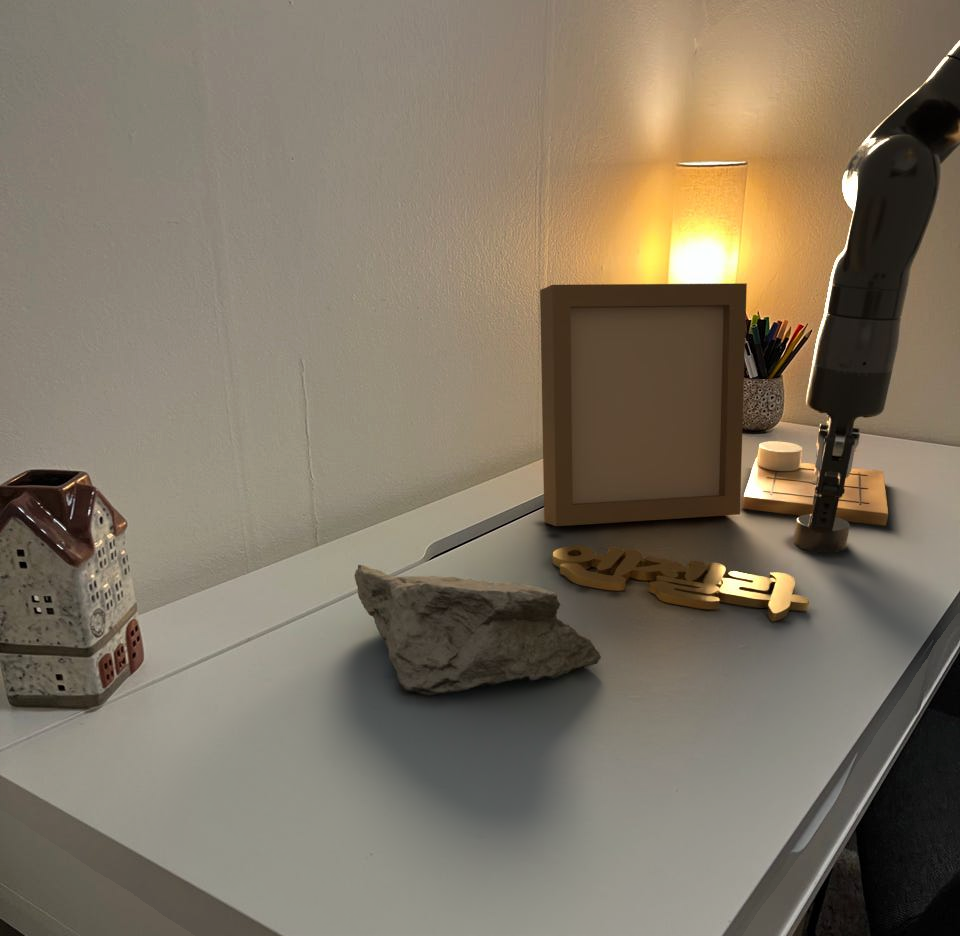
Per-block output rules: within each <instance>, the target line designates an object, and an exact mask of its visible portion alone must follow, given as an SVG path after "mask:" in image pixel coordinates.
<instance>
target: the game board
mask: <svg viewBox="0 0 960 936" xmlns="http://www.w3.org/2000/svg"><path fill="white" fill-rule="evenodd" d="M815 464H816V463H806V462H800V467H799V469H797V470H794V471H774V470H769V469H765V468H762V467H760V466H758V465H757V457H756V458H755V460H754V463H753V465H752V469H751V471H750V476H749V479H748V481H747V484H746V488H745V491H744V494H743V498H742V503H741V509H743V510H749V511H750V510H752V511H759V512H767V513H776V514H783V515H784V514H785V515H792V516H793V515H794V516H799V517H800V516H802V515H806V514H813V509H814V505H813V498H814V493H815V492H814V491H815V487H816V483H817V477H818V475H816V474H815V472H814V470H815ZM885 483H886V482H885V474H884V471H882V470H873V469H864V468H856V467H855V468H854V467H852V468H851V472H850V475H849V477H847V478H846V479H845V484H844V489H845V491H844V494H843V495H842V497H841V498H839V502H838V507H837V511H836V516H835V517H838V518H841V519H843V520H845V521H847V522H848V523H849V522H850V523H858V524H867V525H875V526H881V527H882V526H884V527H886V526H887V521H888V517H889V510H888V500H887V492H886V484H885Z"/></svg>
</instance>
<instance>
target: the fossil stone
mask: <svg viewBox="0 0 960 936" xmlns="http://www.w3.org/2000/svg"><path fill="white" fill-rule="evenodd" d="M354 580H355V584H356V586H357V596H358V598H359V600H360V602H361V604H362V606H363V609H364V610H366V612H367V614H368V615H369V616H370V617H372V618H373V621H374V624H375V627H376V629H377V631H378V633H379V635H380V637H381V638H382V640H383V641H384V643H385V645H386V647H387V649H388V658H389V660H390V662H391V664H392V666H393V668H394V670H395V672H396V676H397V681H398V683H399V684H400V687H402V688H403V689H404V690H405V691H406V692H407V693H410V694H419V695H422V696H431V697H432V696H434V695H441V694H449V693H458V692H459V693H460V692H465V691H468V690H470V689H473V688H475V687H486V688H490V687H493V686H495V685H499V684H504V683H508V682H511V681H513V682H514V681H518V682H520V681H522V680H525V681H527V682H533V681H537V680H554V679H558V678H561V677H563V676H565V675H567V674H568V673H571V672H573V671H578V670H585V669H586V668H588V667H591V666H594V665H597V664H598V663H599V661H600V660H601V659H602V656H601V654H600V652H599V651H598V650H597V648H596V647H595V644H594V643H593V642H592V640H591V639H590V638H588V637H586V636H584V635H583V634H581V633H580V632H578V631H577V630H576V629H575V628H574V627H573V626H572V625H569V624H568V623H565V622H563V620H561V619H560V618H559V617H558V615H557V614H558V610H559V609H560V607H561V603H560V601H559V599H558V596H557V594H556V593H554V592H553V591H550V590H548V589H544V588H542V587H538V586H534V585H530V584H525V585H524V584H522V585H521V584H517V583H513V582H499V583H494V582H489V581H487V580H486V581H484V580H476V579H471V578H467V579H466V578H460V577H455V576H436V575H435V576H434V575H430V576H415V575H411V576H409V575H408V576H407V575H406V576H404V575H403V576H393V575H389V574H387V573H385V572H383V571H382V570H378V569H376V568H371V567H368V566H367V565H362V564H358V565H357V569H356V570H355V572H354Z"/></svg>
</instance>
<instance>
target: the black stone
mask: <svg viewBox="0 0 960 936" xmlns="http://www.w3.org/2000/svg"><path fill="white" fill-rule="evenodd" d="M811 519H812V514H806V515H802V516H800V515H799V516H798V517H797V518H796V523H795V528H794V529H795V530H794V535H793V538H792V539H793V541H792V542H793V543H794V545H796V546H797V547H799V548H801V549H803V550H805V551H810V552H815V553H822V554H835V553H841V552H843V551H844V550H846V547H847V543H848V538H849V533H850V529H851V524H850V523H849V521H845V520H843V519H841V518H838V517H835V521H834V526H833V530H832V531H831V532H830V533H825V532H817V531H813V530H811V528H810V525H811Z"/></svg>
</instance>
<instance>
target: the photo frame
mask: <svg viewBox="0 0 960 936" xmlns="http://www.w3.org/2000/svg"><path fill="white" fill-rule="evenodd" d="M747 288H748V283H746V282H745V283H743V282H741V283H740V282H739V283H738V282H737V283H613V284H612V283H607V284H606V283H605V284H602V283H601V284H599V283H598V284H597V283H596V284H594V283H593V284H592V283H591V284H590V283H589V284H583V283H582V284H551V285H549V286H546V287H543V288H541V289H539V310H540V313H539V314H540V359H541V360H540V362H541V363H540V365H541V369H540V370H541V415H542V416H541V417H542V418H541V420H542V470H543V472H542V473H543V476H542V477H543V522H544V523H546V524H549V525H551V526H554V527H565V526H567V527H568V526H581V525H596V524H611V523H612V524H614V523H625V522H627V523H628V522H643V521H645V522H646V521H658V520H675V519H688V518H689V519H691V518H705V517H706V518H707V517H721V516H736V515H737V516H738V515H741V492H742V490H741V489H742V487H741V486H742V457H743V426H744V425H743V424H744V423H743V422H744V421H743V419H744V387H745V359H746V357H745V356H746V354H745V353H746V327H747V326H746V323H747V322H746V321H747V292H748V291H747Z"/></svg>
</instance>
